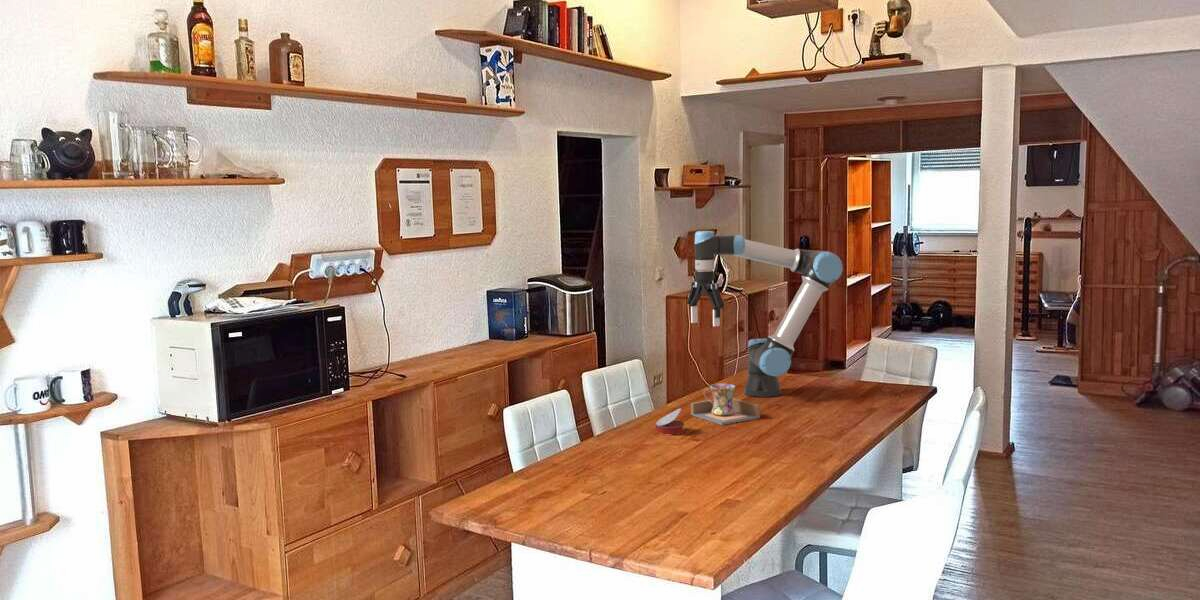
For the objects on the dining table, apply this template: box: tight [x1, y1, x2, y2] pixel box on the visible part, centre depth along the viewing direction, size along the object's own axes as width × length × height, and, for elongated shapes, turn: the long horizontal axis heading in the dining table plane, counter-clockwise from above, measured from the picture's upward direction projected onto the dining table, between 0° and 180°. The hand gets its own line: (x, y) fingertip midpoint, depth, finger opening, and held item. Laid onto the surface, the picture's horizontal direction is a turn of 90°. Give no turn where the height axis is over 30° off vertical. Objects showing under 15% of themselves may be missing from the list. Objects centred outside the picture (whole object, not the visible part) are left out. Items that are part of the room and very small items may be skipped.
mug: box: [702, 383, 736, 416], centre depth 339 cm, size 12×9×11 cm
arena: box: [690, 397, 761, 426], centre depth 339 cm, size 18×18×5 cm
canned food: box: [655, 408, 685, 435], centre depth 319 cm, size 11×10×10 cm
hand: (705, 324), depth 360 cm, fingers open, 13 cm apart
